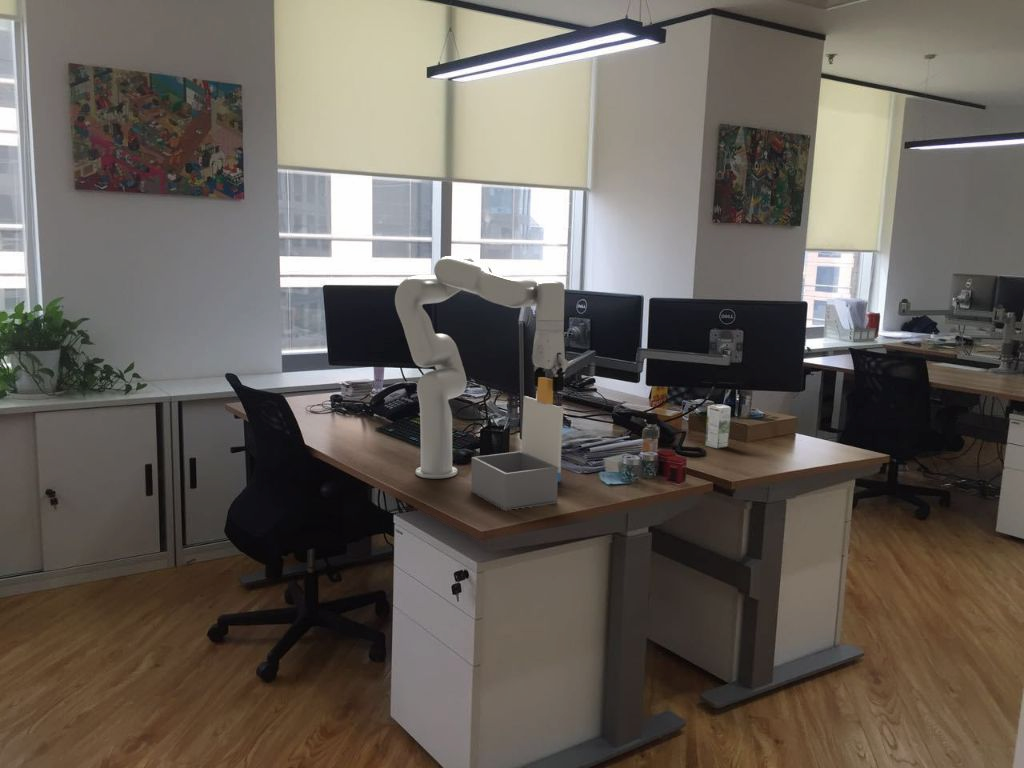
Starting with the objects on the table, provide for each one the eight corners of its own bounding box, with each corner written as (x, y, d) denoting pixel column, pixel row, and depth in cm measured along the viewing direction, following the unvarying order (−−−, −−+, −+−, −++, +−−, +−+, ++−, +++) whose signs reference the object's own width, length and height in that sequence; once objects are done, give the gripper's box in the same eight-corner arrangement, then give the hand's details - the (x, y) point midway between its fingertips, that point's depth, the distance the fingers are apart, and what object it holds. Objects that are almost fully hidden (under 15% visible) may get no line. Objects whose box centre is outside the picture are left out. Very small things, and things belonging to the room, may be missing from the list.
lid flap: (524, 373, 243) (530, 373, 244) (521, 450, 247) (527, 450, 248) (562, 384, 226) (568, 383, 227) (557, 466, 229) (564, 466, 230)
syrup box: (716, 443, 302) (718, 403, 300) (729, 447, 297) (731, 406, 295) (704, 445, 299) (706, 405, 297) (717, 449, 294) (719, 407, 292)
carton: (471, 491, 241) (471, 457, 239) (520, 484, 248) (521, 451, 247) (505, 511, 223) (505, 474, 222) (557, 502, 231) (557, 467, 229)
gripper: (522, 324, 239) (521, 384, 242) (554, 330, 224) (553, 394, 227) (545, 323, 243) (544, 382, 245) (578, 329, 228) (577, 392, 231)
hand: (548, 388), depth 236 cm, fingers open, 9 cm apart
